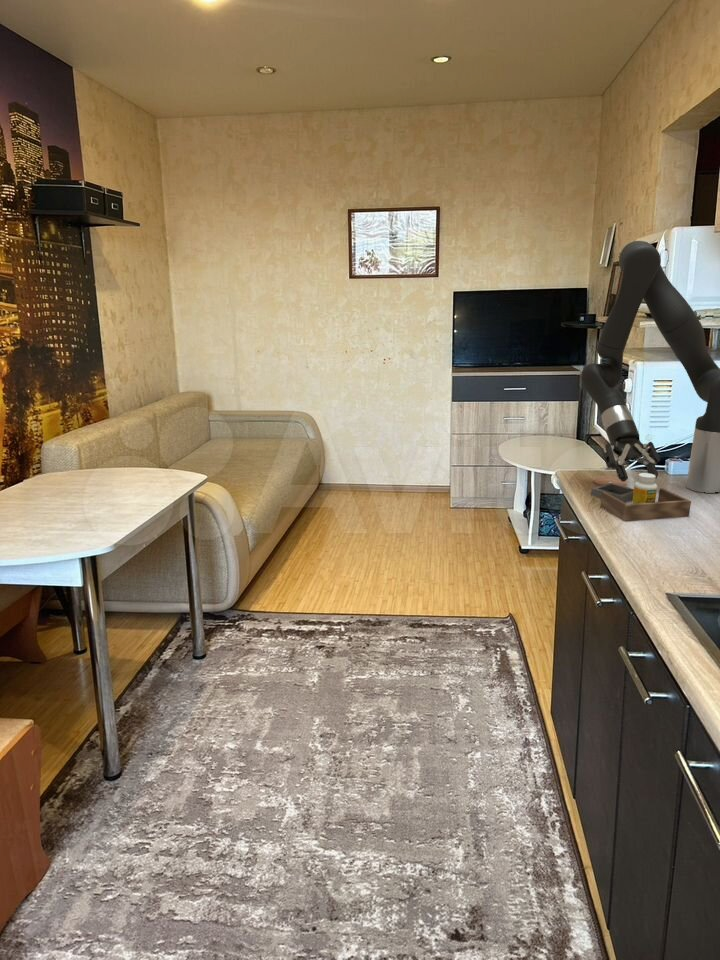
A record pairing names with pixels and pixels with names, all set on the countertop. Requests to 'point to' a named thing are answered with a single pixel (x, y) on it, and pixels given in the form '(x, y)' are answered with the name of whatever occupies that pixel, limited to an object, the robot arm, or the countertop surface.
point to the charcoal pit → (614, 491)
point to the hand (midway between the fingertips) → (639, 479)
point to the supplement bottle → (645, 489)
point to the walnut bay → (648, 507)
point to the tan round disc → (608, 480)
